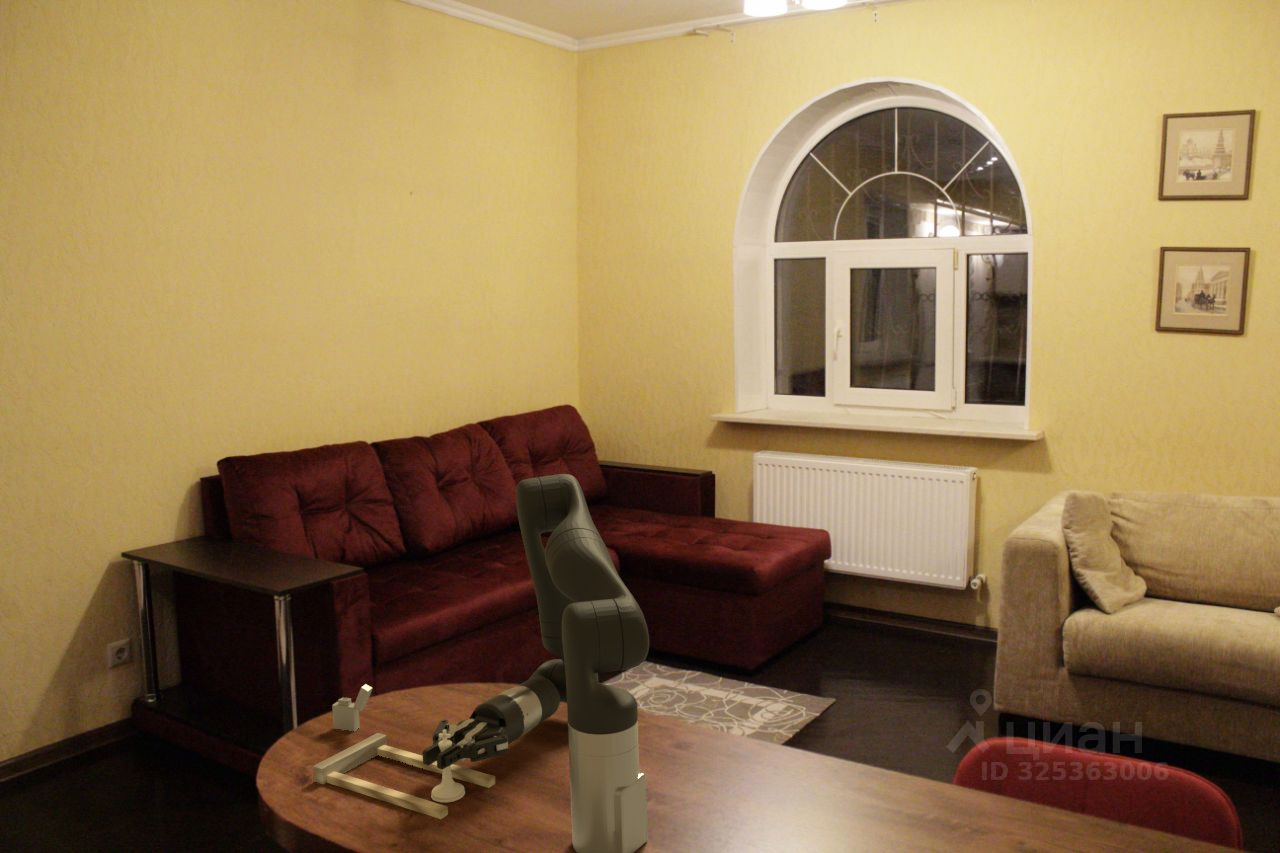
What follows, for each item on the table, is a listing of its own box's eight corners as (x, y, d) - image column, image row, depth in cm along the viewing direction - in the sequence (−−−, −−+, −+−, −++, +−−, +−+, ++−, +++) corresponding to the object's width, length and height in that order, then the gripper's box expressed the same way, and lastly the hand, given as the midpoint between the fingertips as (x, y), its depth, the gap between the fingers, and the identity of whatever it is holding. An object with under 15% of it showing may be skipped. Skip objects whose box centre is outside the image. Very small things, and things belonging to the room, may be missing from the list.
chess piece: (457, 803, 152) (454, 738, 151) (425, 801, 153) (421, 736, 152) (470, 787, 157) (466, 724, 155) (438, 785, 158) (435, 722, 156)
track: (498, 781, 158) (497, 766, 158) (437, 821, 147) (436, 804, 147) (378, 747, 171) (377, 732, 171) (313, 781, 160) (312, 766, 160)
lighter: (333, 729, 179) (330, 684, 178) (339, 725, 181) (335, 680, 180) (370, 733, 177) (367, 688, 176) (375, 729, 179) (372, 684, 178)
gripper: (472, 686, 169) (394, 726, 154) (541, 702, 162) (467, 745, 147) (474, 730, 170) (398, 774, 155) (543, 748, 163) (469, 796, 148)
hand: (432, 760), depth 151 cm, fingers closed on chess piece
